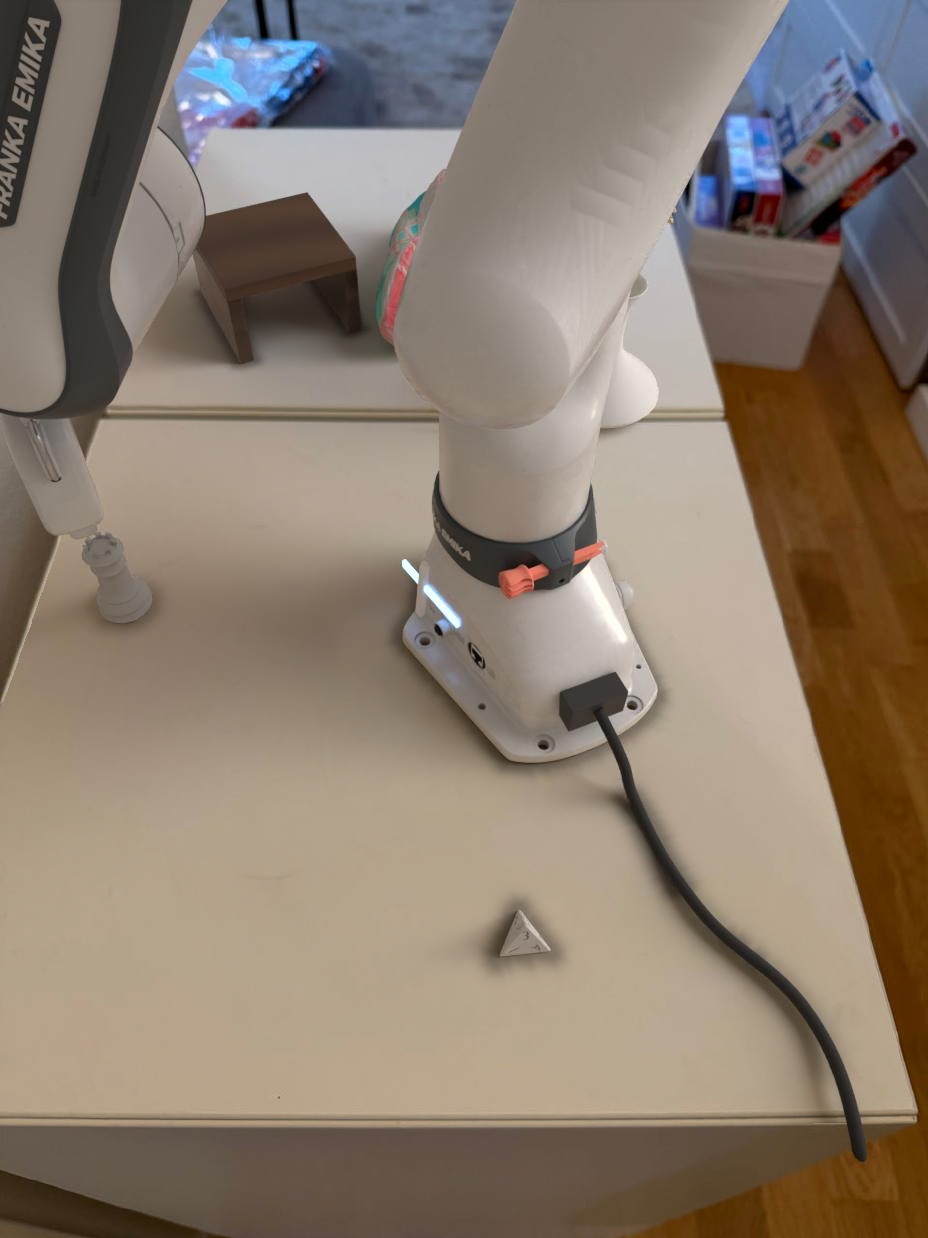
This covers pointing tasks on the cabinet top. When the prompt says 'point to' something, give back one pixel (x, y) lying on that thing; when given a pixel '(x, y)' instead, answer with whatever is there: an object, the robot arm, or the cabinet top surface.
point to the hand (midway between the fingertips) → (68, 486)
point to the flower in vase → (630, 377)
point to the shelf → (273, 262)
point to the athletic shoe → (401, 257)
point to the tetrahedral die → (523, 938)
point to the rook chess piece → (115, 580)
